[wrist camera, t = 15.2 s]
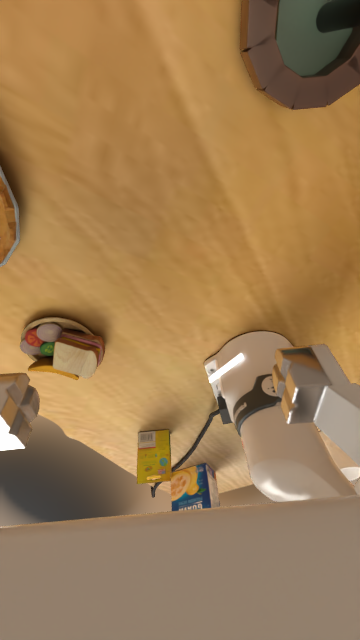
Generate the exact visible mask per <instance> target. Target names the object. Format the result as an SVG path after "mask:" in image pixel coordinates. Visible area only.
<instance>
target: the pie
mask: <svg viewBox="0 0 360 640" xmlns="http://www.w3.org/2000/svg"><path fill="white" fill-rule="evenodd" d="M19 241H20V229H19V208H18V205H17V202H16V200H15V198H14V196H13V193H12V191H11V189H10V187H9V184H8V182H7V180H6V178H5V176H4V173H3V171H2V169H1V167H0V267H1V266H3V265H5V264H6V263H7V261H8V259H9V258H10V256H11V254H12V253H13V251H14V250H15V248H16V246H17V245H18V243H19Z"/></svg>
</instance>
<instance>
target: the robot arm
mask: <svg viewBox="0 0 360 640" xmlns="http://www.w3.org/2000/svg"><path fill="white" fill-rule="evenodd" d="M204 366H205V369H206V372H207V375H208V378H209V382H210V383H211V386H212V389H213V392H214V395H215V398H216V401H217V404H218V406H219V409H218V410H216V411H215V412H213V413H211V414H210V415H209V419H208V421H207V423H206V425H205V427H204V428H203V430H202V432H201V434H200V435H199V437H198V439H197V440H196V442H195V444H194V446H193V447H192V449H191V450H190V452H189V453H188V454H187V455H186V456H185V457H184V458H183V459H182V460H181V461H180V462H179V463H178V464H177V465H176V466H175V467H174V468H173V469H172V470H171V472H172V473H173V472H174V471H175V470H176V469H177V468H179V467H180V466H181V465H182V464H183V463H184V462H185V461H186V460H187V459H188V458H189V456H190V455H191V454H192V453H193V451H194V450H195V449H196V447H197V445H198V444H199V442H200V440H201V438H202V437H203V435H204V433H205V432H206V430H207V428H208V427H209V425H210V423H211V421H212V419H213V417H214V416H215V415H217V414H219V413H220V415H221V418H222V422H223V424H228V423H235V427H236V429H237V431H238V434H239V435H240V437H241V438H242V445H243V448H244V451H245V456H246V460H247V465H248V469H249V474H250V477H251V480H252V481H253V483H254V485H255V486H256V487H257V488H258V489H259V490H260V491H261V492H262V493H263V494H264V495H265V496H267V497H268V498H270V499H272V500H274V501H276V502H273V503H261V504H250V505H238V506H227V507H216V508H204V509H193V510H181V511H170V512H159V513H147V514H136V515H124V516H114V517H102V518H90V519H79V520H68V521H56V522H45V523H34V524H24V525H23V524H22V525H11V526H0V640H360V477H359V479H358V480H357V482H356V483H355V485H353V484H352V483H351V482H350V481H349V480H348V479H347V478H346V477H345V476H344V474H343V473H342V472H341V470H340V469H339V468H338V466H337V465H336V463H335V462H334V460H333V458H332V457H331V455H330V453H329V451H328V449H327V447H326V445H325V443H324V441H323V439H322V437H321V435H320V433H319V431H318V429H317V427H318V428H319V429H320V430H321V431H322V432H323V433H324V434H325V435H327V436H328V437H329V438H330V439H331V440H332V441H333V442H334V443H335V444H336V445H337V446H338V447H339V448H340V449H342V450H343V451H344V452H345V453H346V454H347V455H348V456H349V457H350V458H351V459H352V460H353V461H354V462H355V463H356V464H358V465H359V466H360V386H359V385H358V384H356V383H352V384H351V383H350V382H349V380H348V378H347V377H346V375H345V374H344V372H343V370H342V369H341V367H340V365H339V364H338V362H337V361H336V359H335V357H334V356H333V354H332V353H331V351H330V349H329V348H328V346H327V345H325V344H319V345H309V346H299V347H293V346H292V345H291V343H290V342H289V341H288V340H287V339H286V338H285V337H283V336H282V335H279V334H277V333H273V332H267V331H258V332H251V333H247V334H244V335H241V336H238V337H236V338H234V339H233V340H231V341H230V342H228V343H227V344H226V345H225V346H224V347H223V348H222V349H221V350H220V351H219V352H218V353H217V354H216V355H214V356H212V357H210V358H209V359H207V360H206V361H205V362H204ZM29 381H30V379H29V377H28V376H27V374H26V373H11V374H0V451H3V450H11V449H20V448H26V445H27V442H28V439H29V436H30V434H31V431H32V427H31V425H30V422H31V421H32V420H33V419H34V418H35V417H36V416H37V414H38V411H39V403H40V399H39V395H38V392H37V390H36V389H35V388H34V387H32V386H30V385H28V384H29ZM316 426H317V427H316ZM160 483H162V482H157V484H156V485H155V486H154V488H153V487H152V486H151V494H152V497H155V490H156V488H157V486H158V485H159V484H160Z"/></svg>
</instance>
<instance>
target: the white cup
mask: <svg viewBox="0 0 360 640" xmlns="http://www.w3.org/2000/svg"><path fill="white" fill-rule="evenodd" d="M319 433H320V435H321V437H322V439H323V441H324V443H325V445H326V447H327V449H328V451H329V453H330V455H331V457H332V458H333V460H334V462H335V463H336V465H337V466H338V468H339V469H340V470H341V472H342V473H343V474H344V476H345V477H346V478H347V479H348V480H349V481H352V480H355V479H357V478H359V477H360V466H359V465H358V464H356V463H355V462H354V461H353V460H352V459H351V458H350V457H349V456H348V455H347V454H346V453H345V452H344V451H343V450H342V449H340V448H339V447H338V446H337V445H336V444H335V443H334V442H333V441H332V440H331V439H330V438H329V437H328V436H327V435H325V434H324V433H323V432H322V431H320V432H319Z"/></svg>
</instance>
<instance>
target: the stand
mask: <svg viewBox="0 0 360 640" xmlns="http://www.w3.org/2000/svg"><path fill="white" fill-rule="evenodd" d="M358 26H360V0H279V1H278V9H277V20H276V31H275V39H276V42H277V45H278V48H279V50H280V53H281V56H282V59H283V62H284V65H286V66H287V67H289V68H290V69H291V70H293V71H294V72H296V73H297V74H298V75H300V76H307V75H315V74H316V73H317V72H319V71H320V70H321V69H323V68H324V67H325V66H327V65H328V64H329V63H331V62H332V61H333V60H335V59H336V58H337V56H338V54H339V53H340V51H341V49H342V48H343V46H344V45H345V43H346V41H347V40H348V38H349V36H350V35H351V33H352V30H353V27H358Z"/></svg>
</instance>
